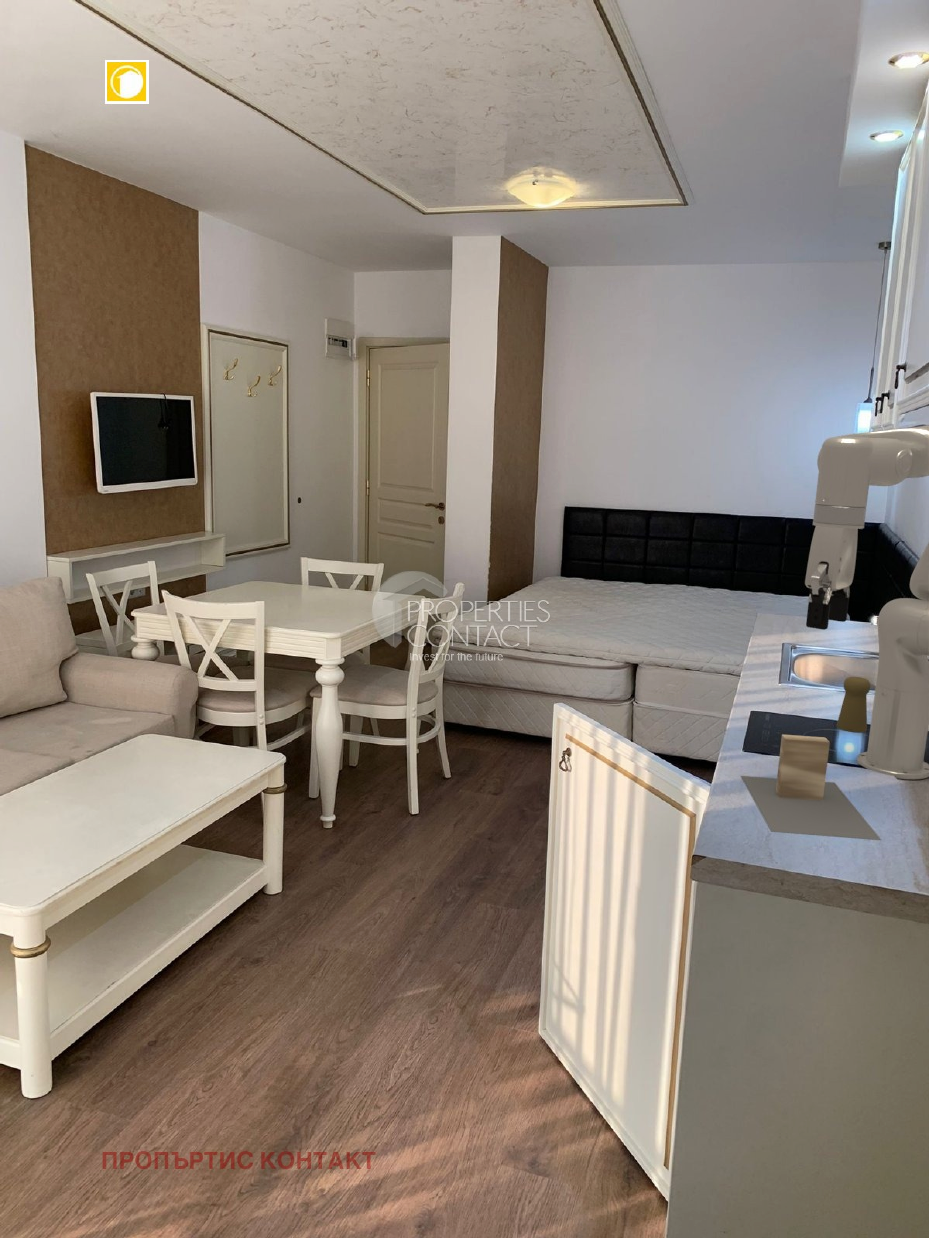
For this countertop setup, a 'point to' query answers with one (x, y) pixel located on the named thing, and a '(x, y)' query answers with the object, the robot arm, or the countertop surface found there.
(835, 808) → the mat
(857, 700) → the olive brown pepper mill
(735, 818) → the countertop surface
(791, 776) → the card box
